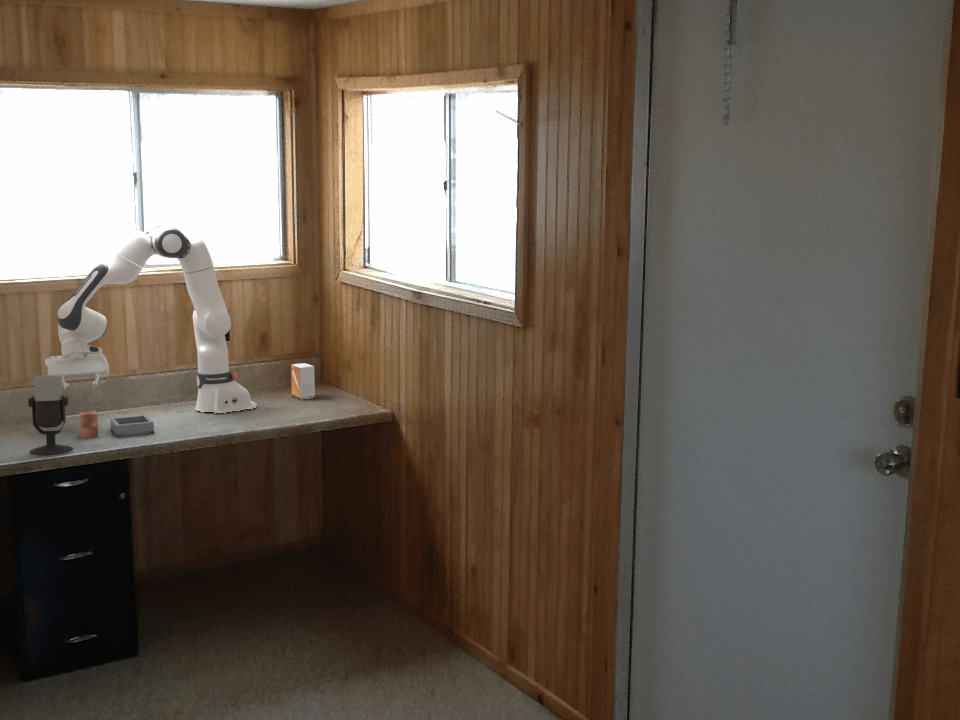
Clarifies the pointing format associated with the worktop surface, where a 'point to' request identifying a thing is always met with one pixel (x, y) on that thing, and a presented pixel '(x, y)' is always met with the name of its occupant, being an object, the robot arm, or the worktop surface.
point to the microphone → (48, 413)
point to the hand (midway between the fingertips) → (81, 387)
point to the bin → (131, 425)
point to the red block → (88, 424)
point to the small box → (303, 380)
